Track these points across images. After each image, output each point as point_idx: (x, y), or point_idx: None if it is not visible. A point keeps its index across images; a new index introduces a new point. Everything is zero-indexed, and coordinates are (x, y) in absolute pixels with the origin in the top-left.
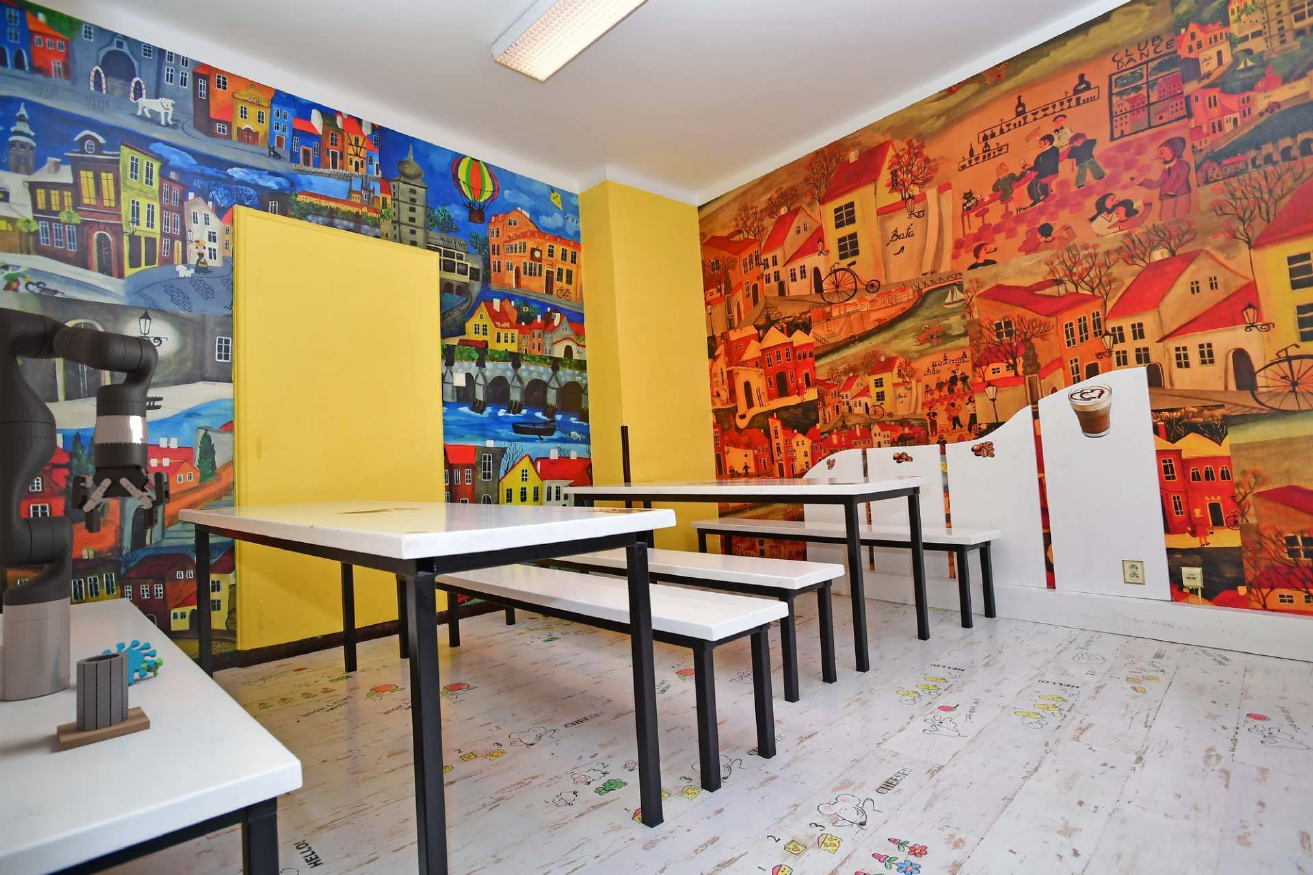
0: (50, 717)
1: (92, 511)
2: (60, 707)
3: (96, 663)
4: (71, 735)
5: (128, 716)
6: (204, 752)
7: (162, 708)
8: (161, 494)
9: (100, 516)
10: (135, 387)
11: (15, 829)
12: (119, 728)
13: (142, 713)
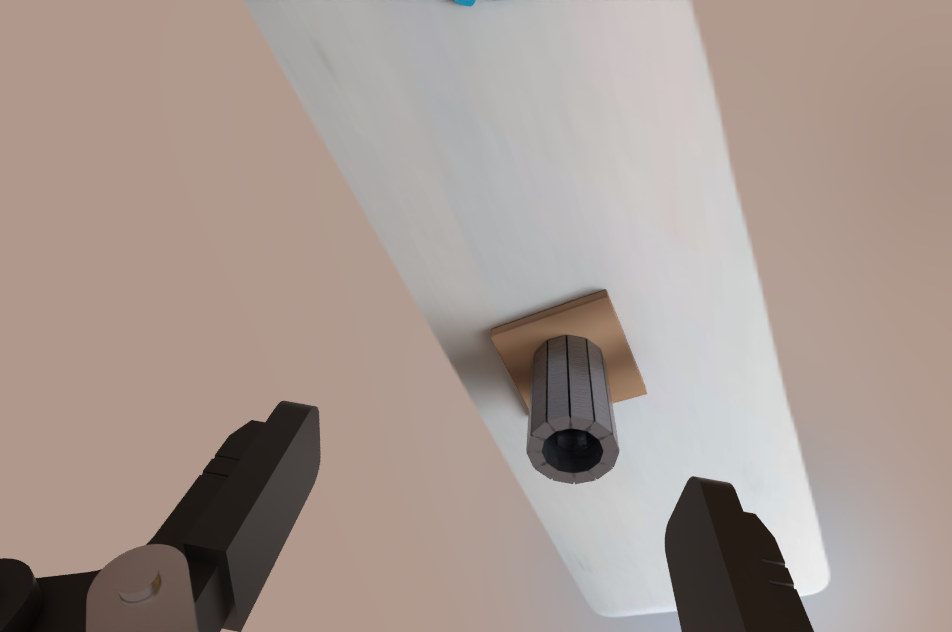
0: (424, 208)
1: (217, 622)
2: (406, 131)
3: (573, 480)
4: None
5: (603, 351)
6: None
7: (643, 275)
8: None
9: (254, 505)
10: None
11: (582, 588)
12: None
13: (624, 347)
